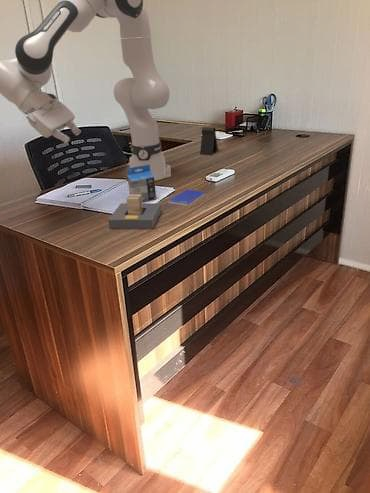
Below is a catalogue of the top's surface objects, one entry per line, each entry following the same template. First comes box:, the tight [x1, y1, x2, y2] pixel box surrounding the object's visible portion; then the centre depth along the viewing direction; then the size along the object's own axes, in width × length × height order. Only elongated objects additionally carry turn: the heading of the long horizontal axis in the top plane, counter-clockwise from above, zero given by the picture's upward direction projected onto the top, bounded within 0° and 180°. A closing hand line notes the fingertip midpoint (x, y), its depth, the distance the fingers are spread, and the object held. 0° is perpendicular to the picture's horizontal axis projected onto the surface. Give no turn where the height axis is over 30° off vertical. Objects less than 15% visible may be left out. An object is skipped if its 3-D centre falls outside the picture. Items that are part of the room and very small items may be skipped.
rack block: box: [107, 202, 162, 230], centre depth 140 cm, size 14×14×3 cm
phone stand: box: [199, 126, 219, 156], centre depth 208 cm, size 9×6×12 cm, turn 154°
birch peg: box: [125, 194, 143, 215], centre depth 139 cm, size 4×4×8 cm
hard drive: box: [167, 189, 206, 207], centre depth 155 cm, size 2×8×12 cm
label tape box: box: [126, 164, 157, 203], centre depth 154 cm, size 9×4×12 cm, turn 114°
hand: (73, 137), depth 135 cm, fingers open, 8 cm apart
